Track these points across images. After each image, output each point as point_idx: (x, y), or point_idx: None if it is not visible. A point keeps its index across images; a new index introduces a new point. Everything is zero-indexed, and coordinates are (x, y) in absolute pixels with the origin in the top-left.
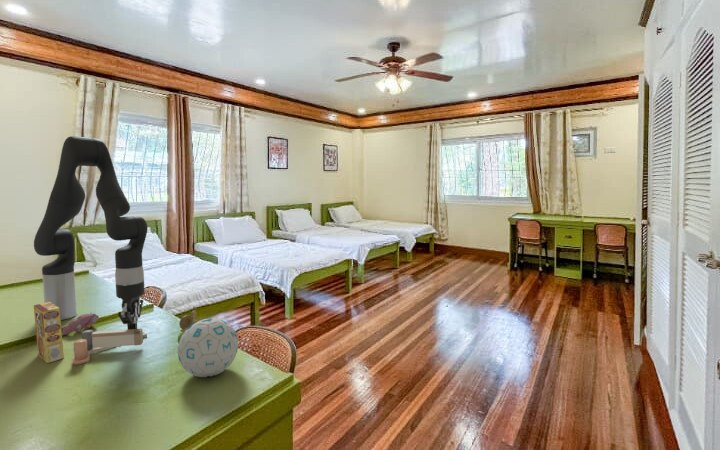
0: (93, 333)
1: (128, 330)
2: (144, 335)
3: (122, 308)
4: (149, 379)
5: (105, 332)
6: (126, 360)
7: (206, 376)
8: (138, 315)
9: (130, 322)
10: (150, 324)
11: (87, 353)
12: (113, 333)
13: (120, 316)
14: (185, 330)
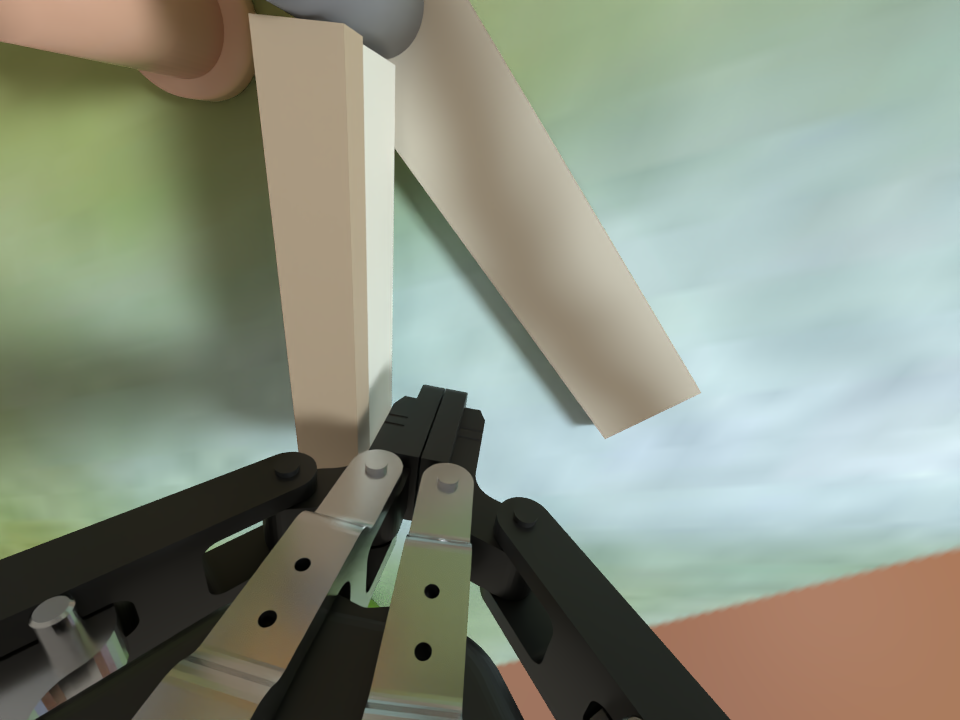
0: (270, 42)
1: (328, 438)
2: (593, 421)
3: (178, 669)
4: (26, 487)
5: (295, 215)
6: (215, 363)
7: None
8: (482, 591)
9: (252, 535)
10: (915, 417)
11: (172, 71)
12: (286, 308)
13: (8, 576)
14: None
